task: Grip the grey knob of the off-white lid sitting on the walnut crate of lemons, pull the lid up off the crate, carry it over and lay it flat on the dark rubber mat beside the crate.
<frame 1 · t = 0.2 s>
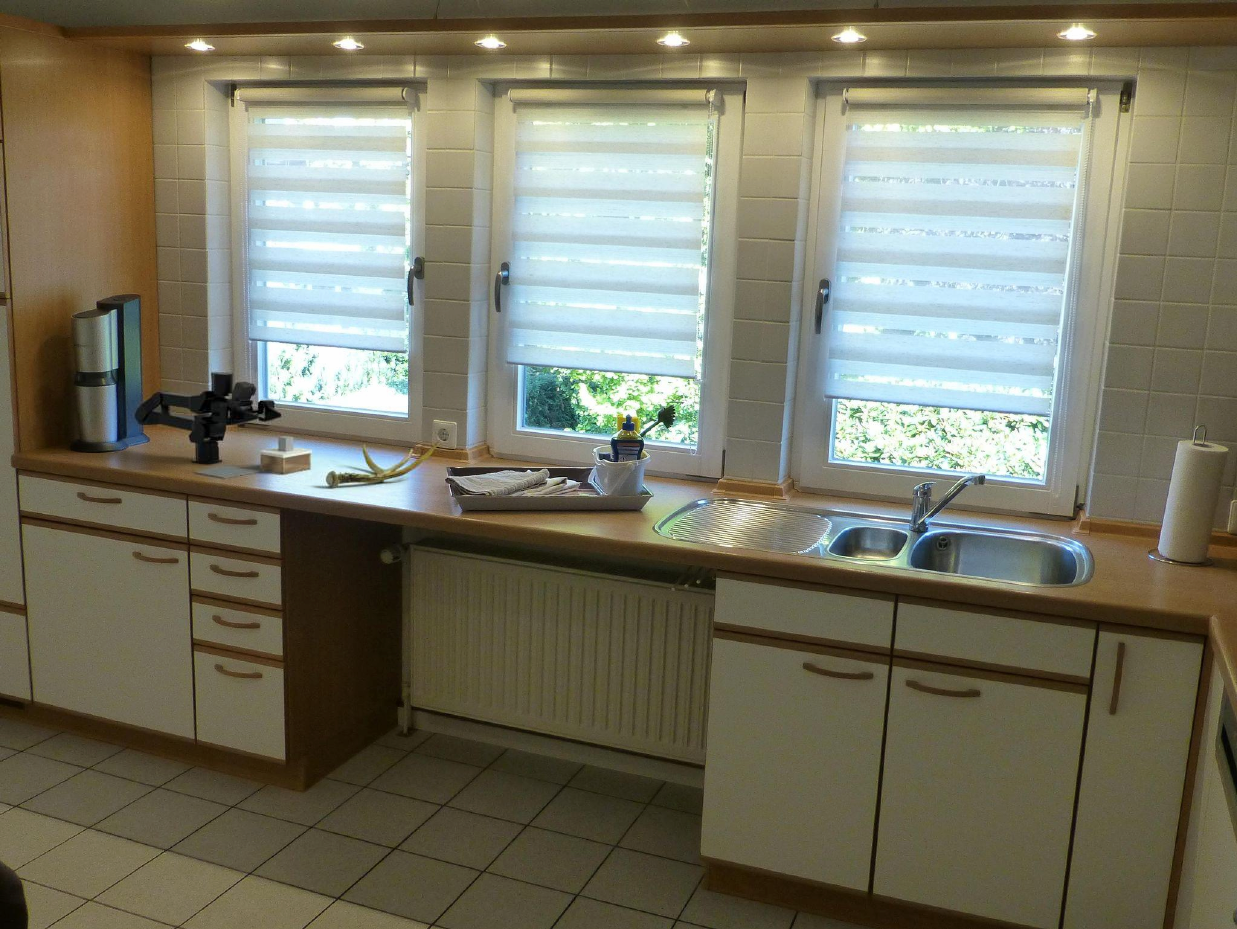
hand: (269, 416, 313), 17 cm above the counter, tool horizontal, fingers open, 9 cm apart
antler: (387, 481, 316), on the counter
crate: (285, 469, 322), on the counter
mat: (227, 472, 314), on the counter
lid: (285, 453, 321), point 5 cm above the counter, touching crate
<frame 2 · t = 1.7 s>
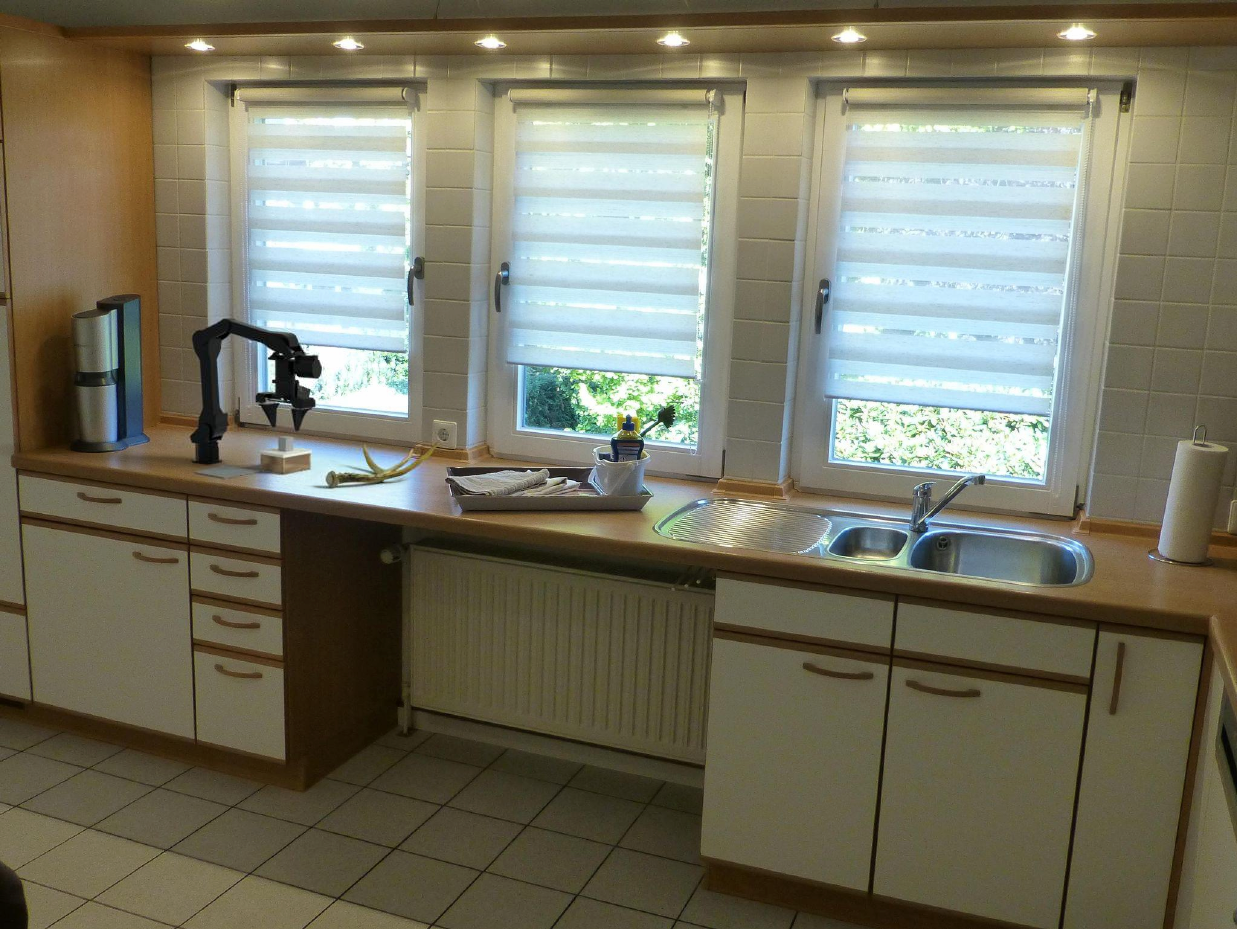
hand: (285, 429, 320), 12 cm above the counter, tool pointing down, fingers open, 9 cm apart
nothing on the counter moved.
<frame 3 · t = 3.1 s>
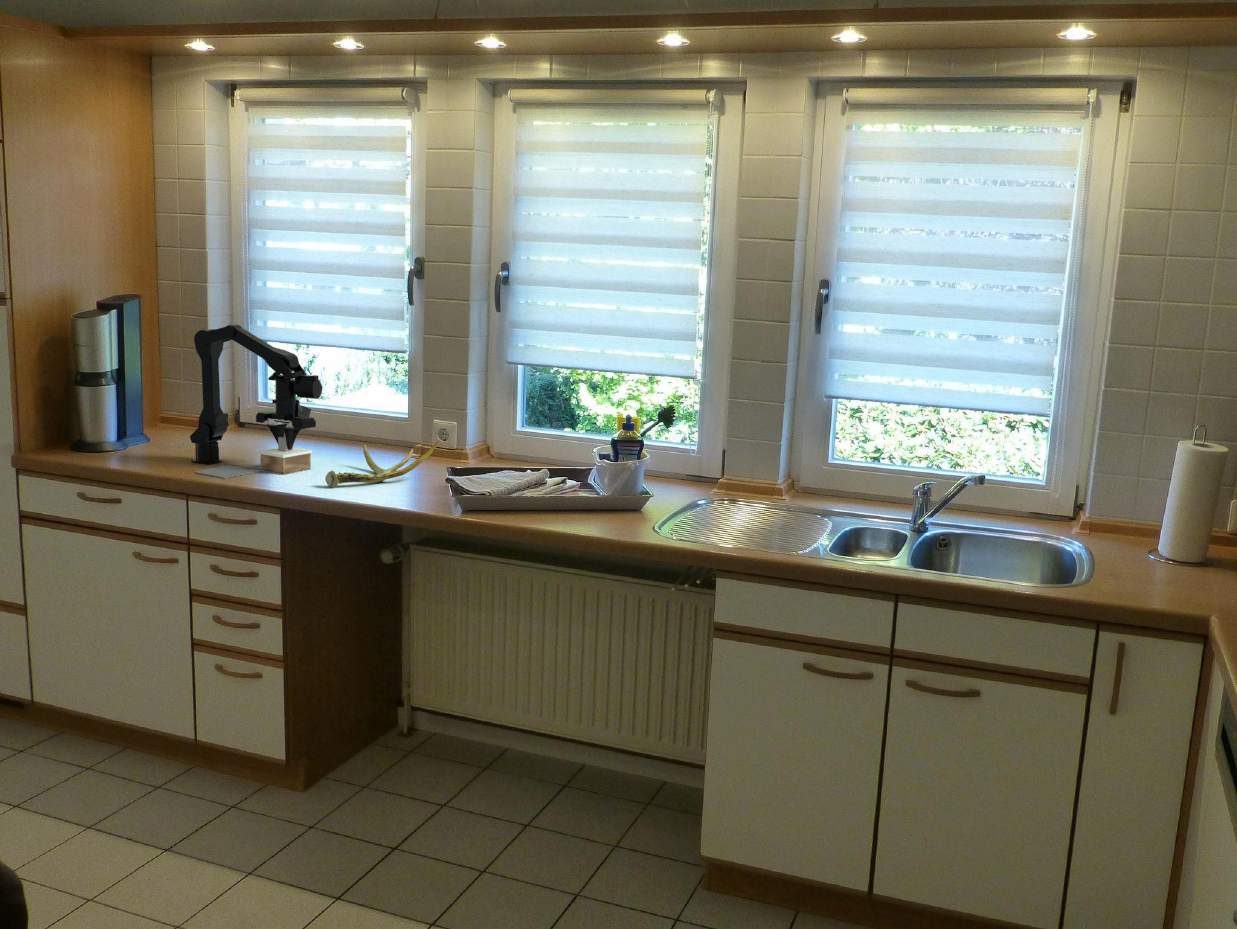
hand: (285, 448, 321), 6 cm above the counter, tool pointing down, fingers closed on lid, 3 cm apart
lid: (285, 453, 321), point 5 cm above the counter, touching crate, gripper
everything else where it was.
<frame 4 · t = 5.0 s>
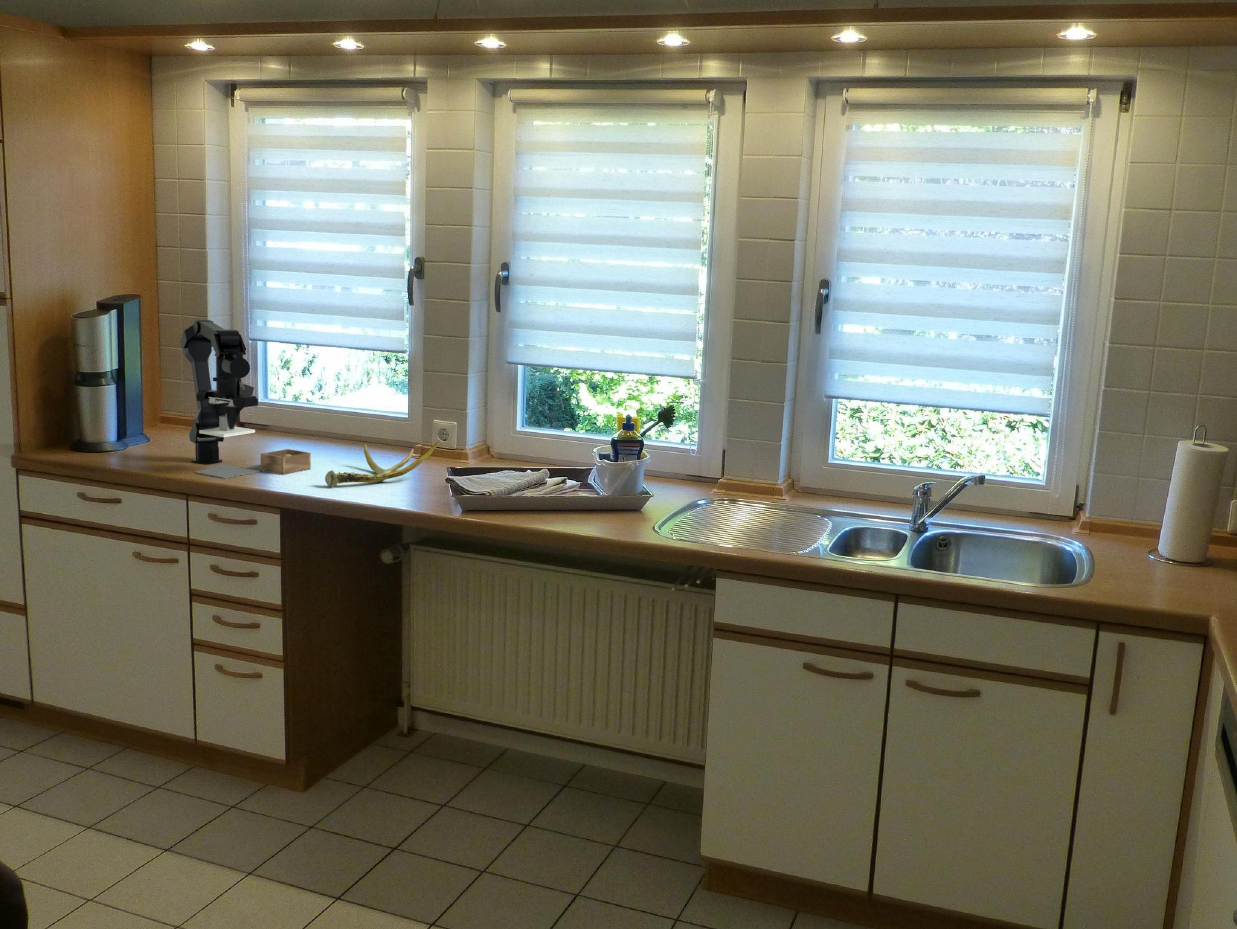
hand: (227, 428, 312), 13 cm above the counter, tool pointing down, fingers closed on lid, 3 cm apart
lid: (227, 432, 312), point 12 cm above the counter, touching gripper
everything else where it was.
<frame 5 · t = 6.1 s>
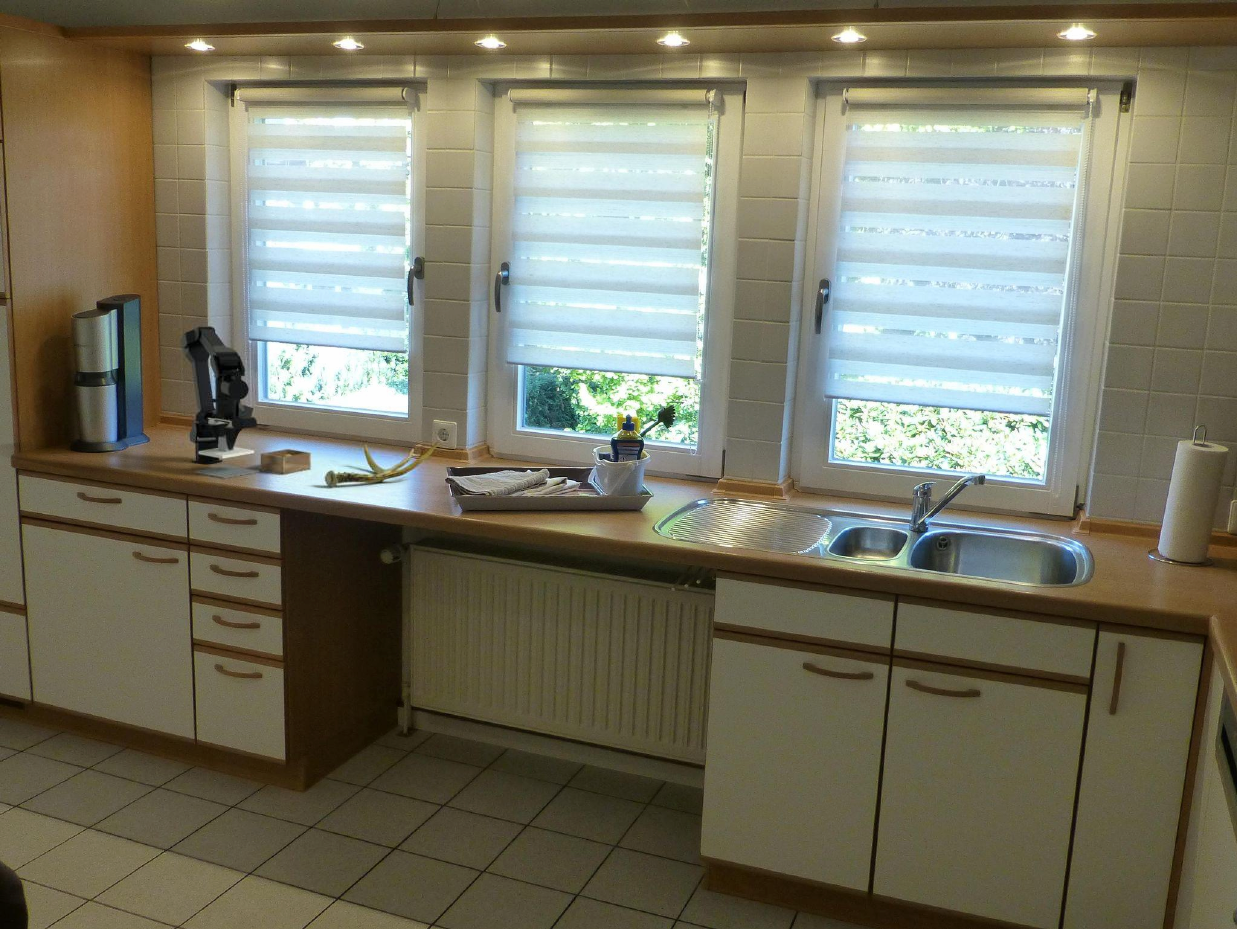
hand: (226, 449, 313), 7 cm above the counter, tool pointing down, fingers closed on lid, 3 cm apart
lid: (226, 453, 313), point 6 cm above the counter, touching gripper
everything else where it was.
when the fingers open (3 cm above the counter, at t = 7.0 s): lid drops 1 cm, resting on mat.
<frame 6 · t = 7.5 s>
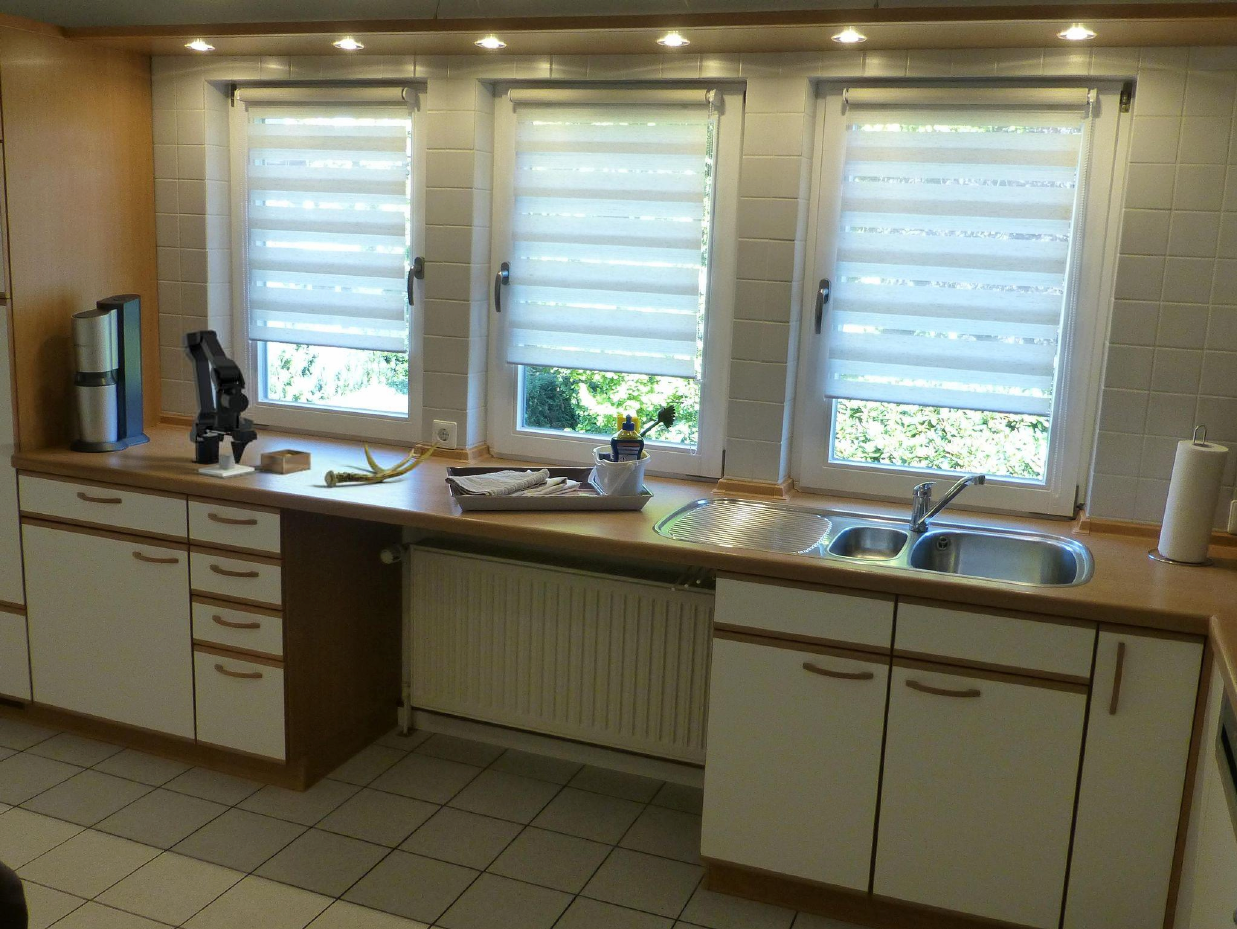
hand: (226, 461, 314), 3 cm above the counter, tool pointing down, fingers open, 8 cm apart
lid: (226, 471, 314), resting on mat
everything else where it was.
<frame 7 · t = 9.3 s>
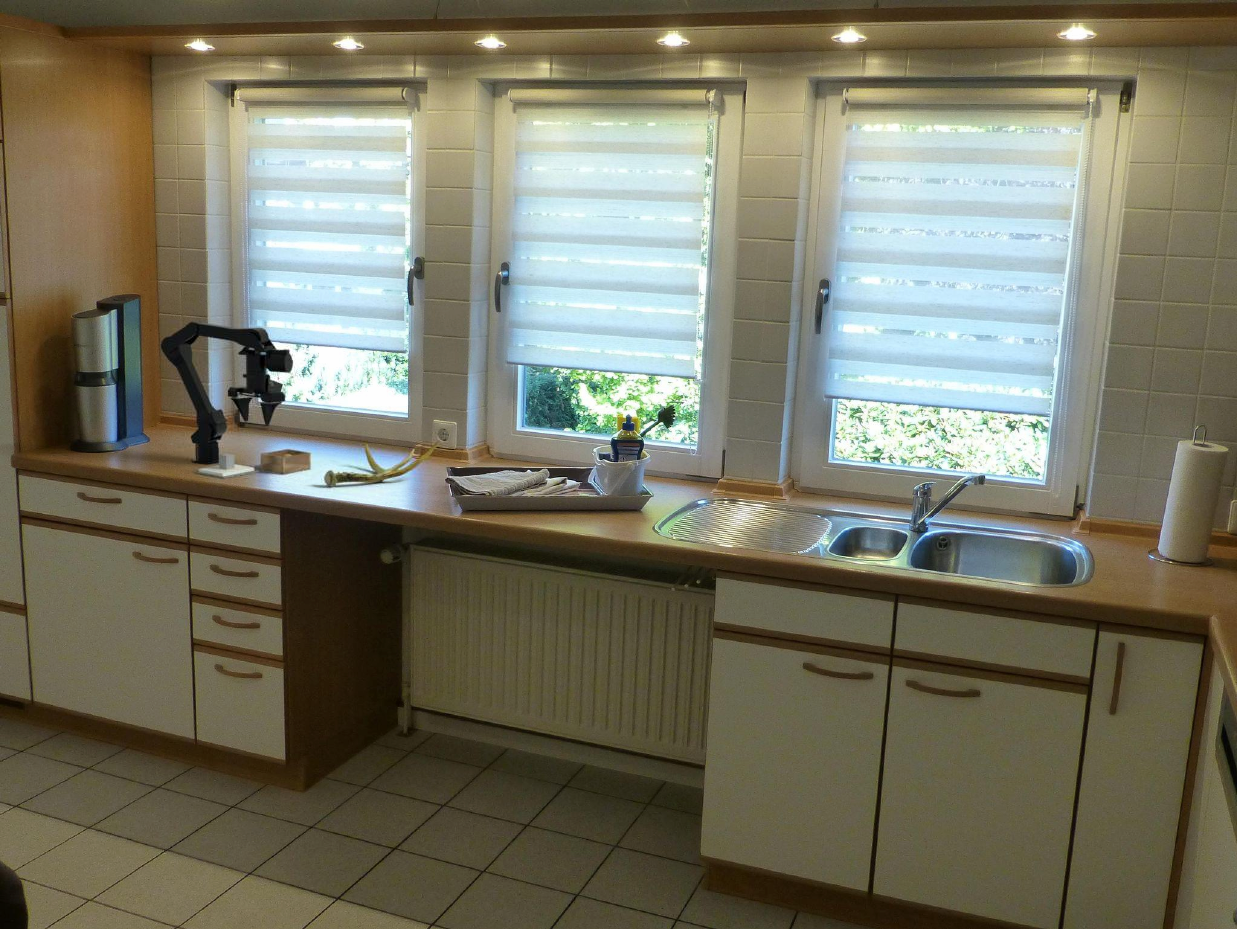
hand: (256, 423, 323), 13 cm above the counter, tool pointing down, fingers open, 9 cm apart
nothing on the counter moved.
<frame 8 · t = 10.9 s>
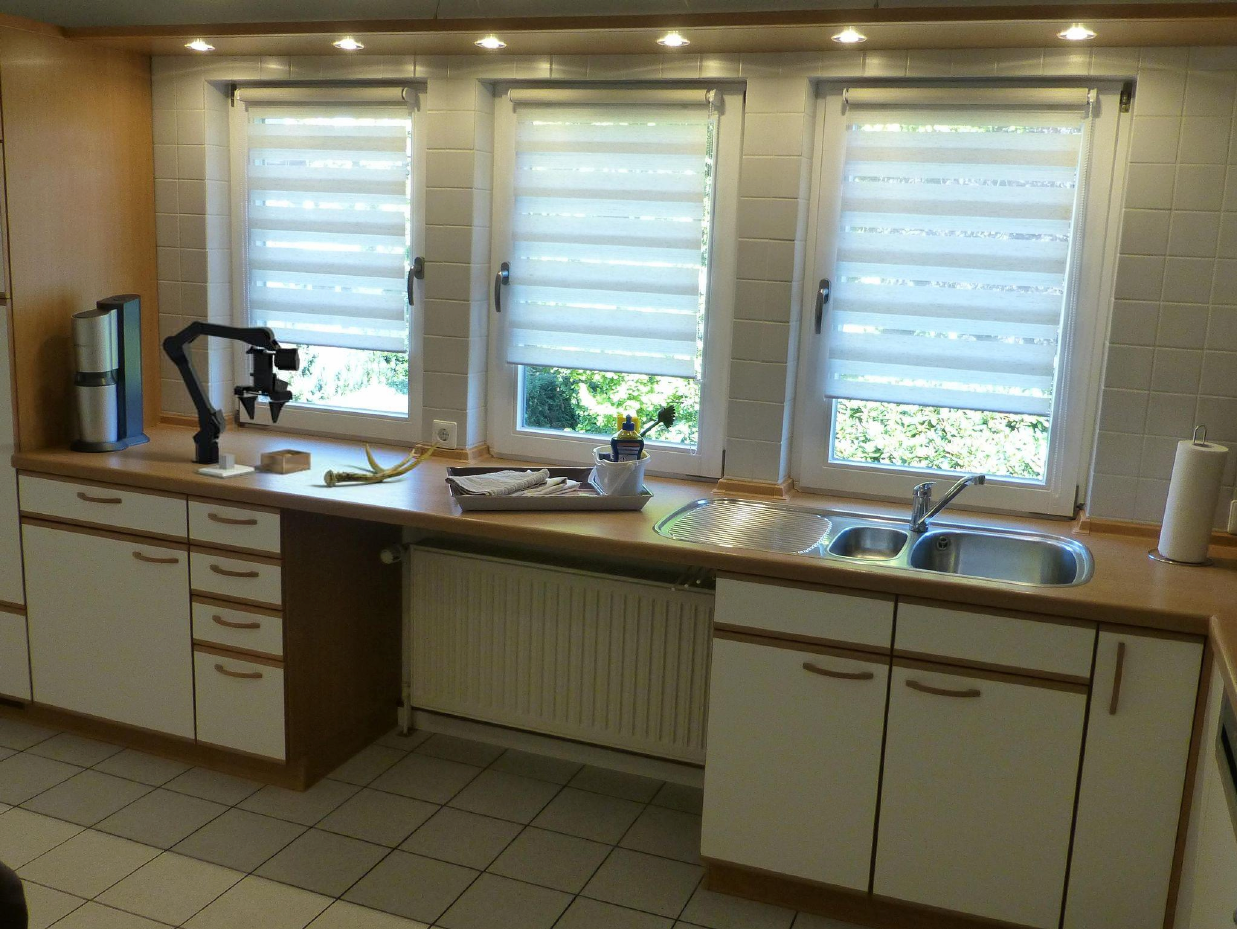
hand: (263, 421, 327), 13 cm above the counter, tool pointing down, fingers open, 9 cm apart
nothing on the counter moved.
at the end: lid inside the target area on the mat (0.1 cm from its centre), point 0.4 cm above the mat's base; lid tilted 0°; lid touching mat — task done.
